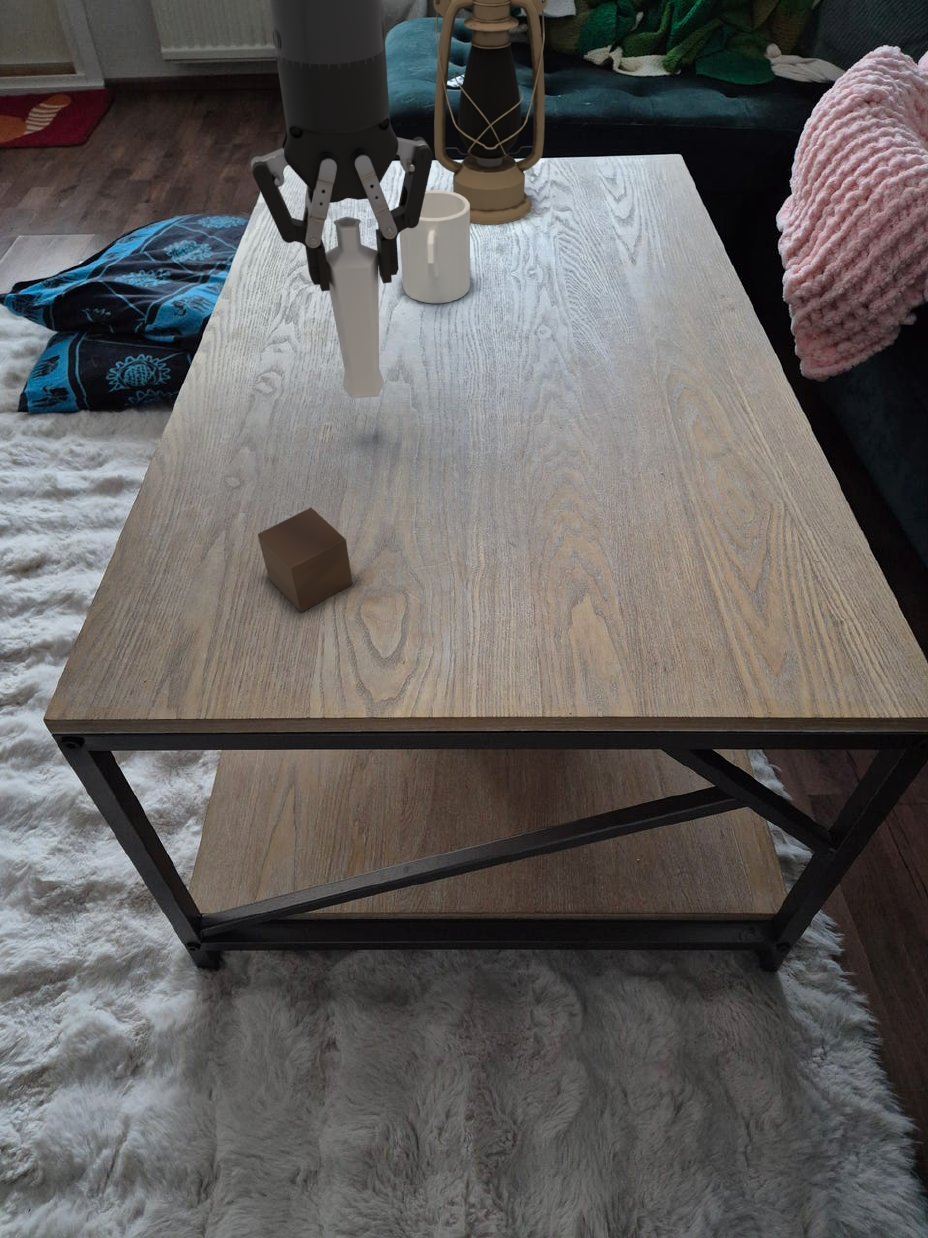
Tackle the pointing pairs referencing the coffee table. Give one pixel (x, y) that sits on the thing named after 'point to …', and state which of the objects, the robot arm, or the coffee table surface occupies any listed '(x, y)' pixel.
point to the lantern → (490, 107)
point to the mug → (438, 249)
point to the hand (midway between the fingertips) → (354, 281)
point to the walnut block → (306, 559)
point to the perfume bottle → (356, 308)
